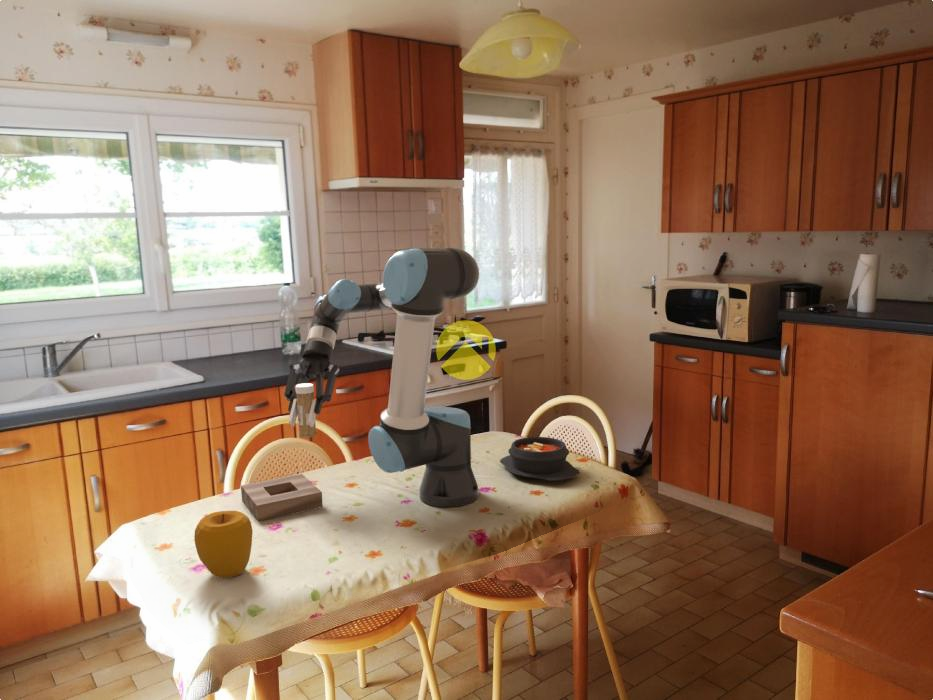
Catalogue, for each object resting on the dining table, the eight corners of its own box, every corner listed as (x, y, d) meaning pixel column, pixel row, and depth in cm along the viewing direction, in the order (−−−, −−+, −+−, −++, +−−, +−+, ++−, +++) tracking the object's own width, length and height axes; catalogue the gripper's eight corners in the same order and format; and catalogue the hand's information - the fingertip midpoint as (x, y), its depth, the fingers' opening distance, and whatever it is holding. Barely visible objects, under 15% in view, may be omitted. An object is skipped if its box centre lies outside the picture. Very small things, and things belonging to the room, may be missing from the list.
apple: (186, 581, 138) (180, 520, 136) (223, 558, 148) (218, 500, 146) (231, 591, 134) (226, 527, 132) (266, 565, 144) (262, 506, 142)
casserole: (594, 476, 193) (595, 447, 192) (546, 492, 182) (546, 461, 180) (532, 455, 213) (531, 428, 211) (484, 468, 201) (484, 440, 200)
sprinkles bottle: (316, 437, 178) (313, 386, 175) (298, 438, 177) (294, 387, 175) (316, 432, 182) (313, 382, 180) (298, 433, 182) (295, 383, 179)
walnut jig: (322, 507, 175) (321, 491, 174) (257, 521, 167) (256, 505, 166) (302, 487, 188) (301, 473, 188) (241, 500, 180) (240, 485, 180)
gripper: (354, 355, 190) (338, 432, 177) (293, 354, 192) (272, 430, 180) (347, 339, 184) (330, 418, 171) (284, 338, 186) (262, 416, 173)
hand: (300, 424), depth 175 cm, fingers closed on sprinkles bottle, 4 cm apart
